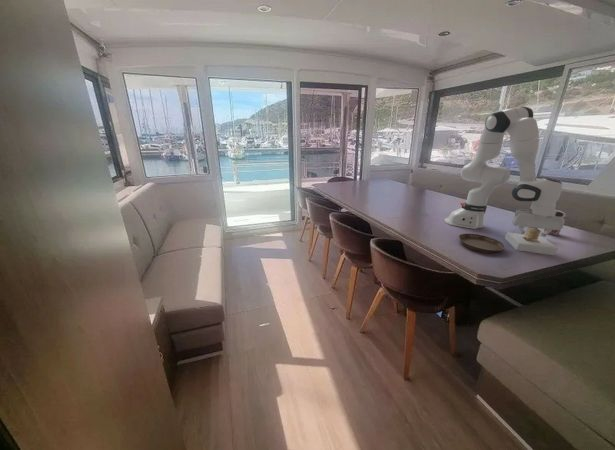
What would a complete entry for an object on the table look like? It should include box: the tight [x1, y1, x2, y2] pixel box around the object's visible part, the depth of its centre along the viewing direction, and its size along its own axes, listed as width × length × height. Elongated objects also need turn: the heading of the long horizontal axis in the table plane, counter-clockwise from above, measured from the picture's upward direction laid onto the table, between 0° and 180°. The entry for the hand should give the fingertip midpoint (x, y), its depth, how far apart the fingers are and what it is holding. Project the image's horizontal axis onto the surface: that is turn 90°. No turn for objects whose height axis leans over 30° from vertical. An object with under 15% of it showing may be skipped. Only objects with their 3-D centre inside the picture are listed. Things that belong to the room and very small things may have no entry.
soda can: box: [543, 217, 566, 236], centre depth 148 cm, size 7×7×12 cm
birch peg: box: [524, 227, 542, 242], centre depth 130 cm, size 4×4×10 cm
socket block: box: [504, 231, 559, 256], centre depth 131 cm, size 16×16×4 cm
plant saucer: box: [458, 233, 505, 254], centre depth 131 cm, size 21×21×3 cm
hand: (532, 235), depth 130 cm, fingers open, 8 cm apart
